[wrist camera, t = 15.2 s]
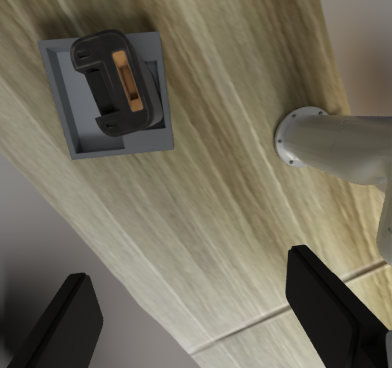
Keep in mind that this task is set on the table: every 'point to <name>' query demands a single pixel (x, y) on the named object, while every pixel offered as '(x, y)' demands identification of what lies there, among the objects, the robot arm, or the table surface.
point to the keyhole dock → (87, 109)
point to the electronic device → (117, 82)
